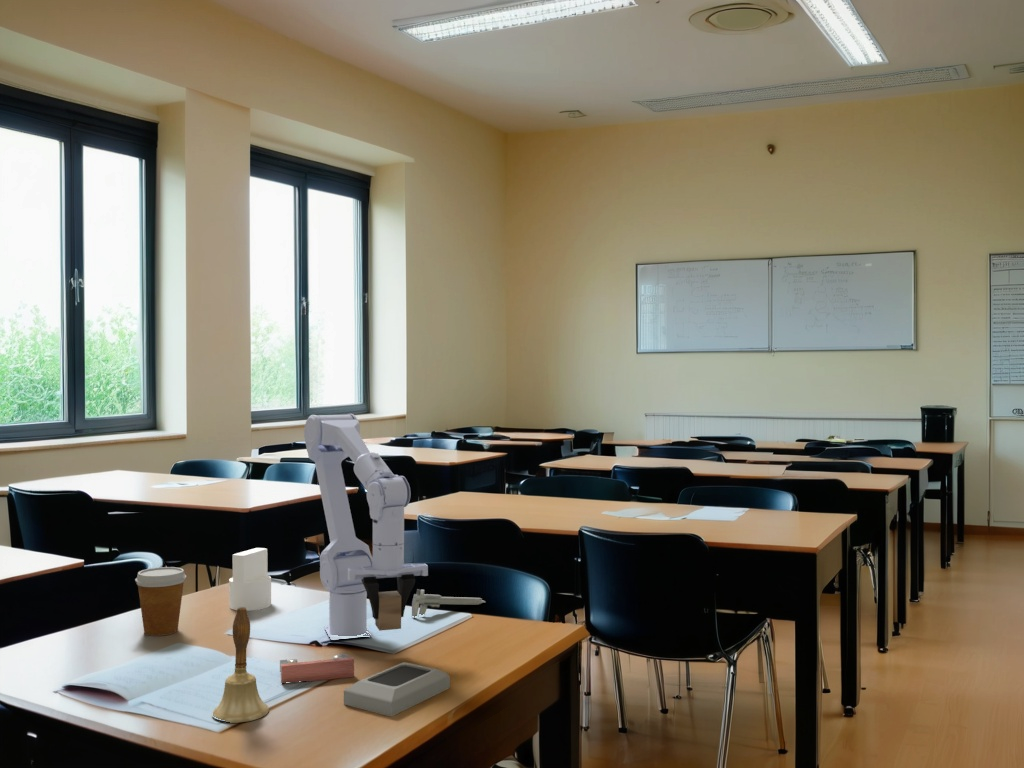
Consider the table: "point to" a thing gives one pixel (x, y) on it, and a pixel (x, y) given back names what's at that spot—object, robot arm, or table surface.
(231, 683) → the hand bell
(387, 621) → the block
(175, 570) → the disposable coffee cup
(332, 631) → the robot arm
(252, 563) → the cylinder with rectangular tab
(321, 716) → the table surface
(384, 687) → the bevelled grey desktop device
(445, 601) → the caliper
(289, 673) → the block
